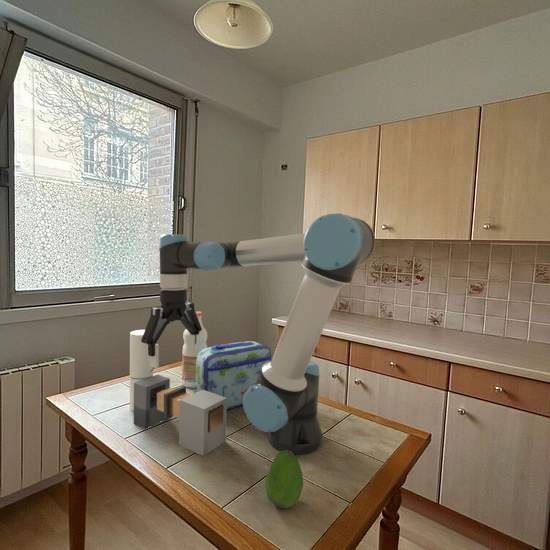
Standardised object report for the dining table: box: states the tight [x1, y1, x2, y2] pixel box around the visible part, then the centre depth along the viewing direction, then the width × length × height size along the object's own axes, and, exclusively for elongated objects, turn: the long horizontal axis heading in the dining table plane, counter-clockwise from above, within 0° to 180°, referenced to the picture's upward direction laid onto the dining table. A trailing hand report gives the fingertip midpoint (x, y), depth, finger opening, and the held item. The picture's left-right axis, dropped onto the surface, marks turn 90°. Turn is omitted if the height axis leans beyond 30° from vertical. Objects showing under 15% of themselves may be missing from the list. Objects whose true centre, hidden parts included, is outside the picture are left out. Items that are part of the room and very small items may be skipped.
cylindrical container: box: [129, 329, 154, 412], centre depth 121 cm, size 7×7×25 cm
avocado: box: [264, 450, 304, 509], centre depth 79 cm, size 8×8×12 cm
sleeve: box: [178, 390, 228, 457], centre depth 101 cm, size 9×9×13 cm
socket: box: [133, 374, 171, 430], centre depth 113 cm, size 6×9×13 cm, turn 147°
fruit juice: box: [181, 310, 208, 389], centre depth 143 cm, size 9×9×28 cm
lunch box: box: [195, 340, 272, 410], centre depth 127 cm, size 26×11×21 cm, turn 123°
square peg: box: [157, 385, 224, 432], centre depth 104 cm, size 21×7×7 cm, turn 57°
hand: (173, 361), depth 108 cm, fingers open, 13 cm apart
